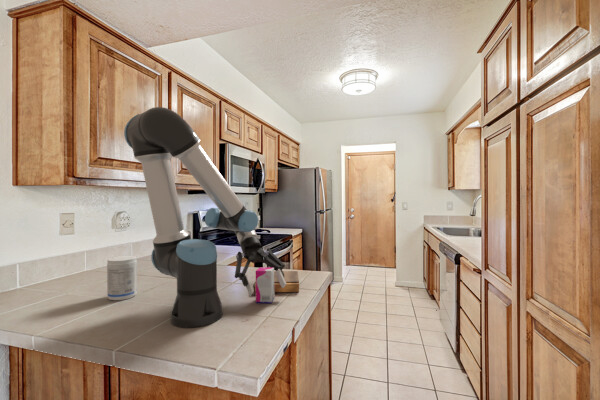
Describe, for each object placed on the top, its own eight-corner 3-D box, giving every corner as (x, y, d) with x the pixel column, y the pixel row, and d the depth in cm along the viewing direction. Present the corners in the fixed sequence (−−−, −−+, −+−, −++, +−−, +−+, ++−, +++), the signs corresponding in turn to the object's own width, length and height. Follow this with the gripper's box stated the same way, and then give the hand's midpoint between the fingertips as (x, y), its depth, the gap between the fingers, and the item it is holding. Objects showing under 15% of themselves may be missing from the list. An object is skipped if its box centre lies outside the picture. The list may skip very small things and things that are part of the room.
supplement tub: (115, 293, 110) (114, 255, 110) (141, 291, 112) (141, 254, 112) (102, 302, 101) (101, 261, 101) (130, 300, 102) (130, 260, 102)
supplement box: (274, 298, 104) (274, 267, 104) (271, 304, 99) (271, 271, 98) (259, 297, 105) (259, 266, 105) (255, 303, 99) (255, 270, 99)
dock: (255, 293, 109) (255, 283, 109) (259, 280, 127) (259, 271, 127) (299, 293, 110) (299, 282, 110) (297, 279, 127) (297, 271, 127)
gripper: (272, 244, 121) (292, 288, 109) (216, 250, 107) (232, 302, 95) (279, 233, 117) (301, 277, 105) (221, 238, 102) (239, 290, 90)
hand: (268, 289), depth 100 cm, fingers open, 12 cm apart
